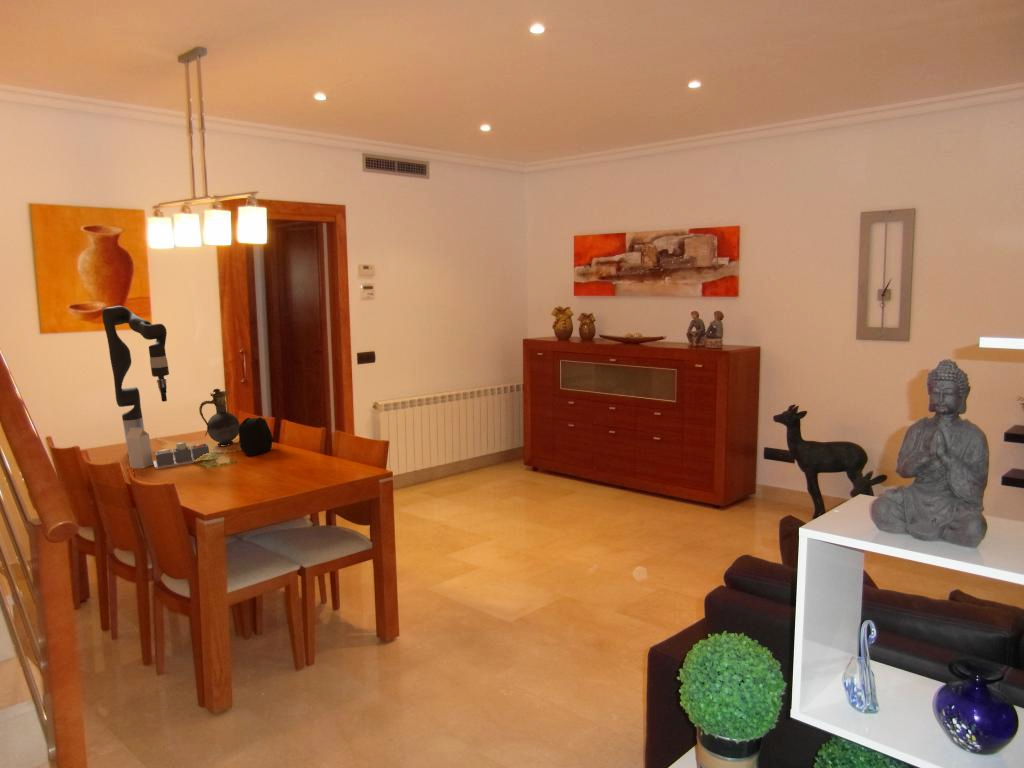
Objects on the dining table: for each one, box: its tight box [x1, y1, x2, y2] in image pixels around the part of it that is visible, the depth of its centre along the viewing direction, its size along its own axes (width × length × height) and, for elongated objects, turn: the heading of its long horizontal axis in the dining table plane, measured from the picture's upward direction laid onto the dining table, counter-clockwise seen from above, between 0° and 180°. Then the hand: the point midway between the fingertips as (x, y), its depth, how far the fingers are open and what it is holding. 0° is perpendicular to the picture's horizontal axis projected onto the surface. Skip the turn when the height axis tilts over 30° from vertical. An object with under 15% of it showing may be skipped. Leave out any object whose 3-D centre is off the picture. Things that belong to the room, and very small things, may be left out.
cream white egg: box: [158, 448, 170, 454], centre depth 366 cm, size 4×4×5 cm
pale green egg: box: [175, 442, 188, 451], centre depth 369 cm, size 4×4×5 cm
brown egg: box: [193, 442, 205, 448], centre depth 373 cm, size 4×4×5 cm
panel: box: [152, 443, 210, 470], centre depth 370 cm, size 14×26×6 cm, turn 119°
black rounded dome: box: [237, 416, 275, 456], centre depth 377 cm, size 18×18×17 cm
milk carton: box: [125, 428, 154, 469], centre depth 363 cm, size 7×7×19 cm
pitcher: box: [198, 388, 241, 447], centre depth 395 cm, size 11×19×30 cm, turn 136°
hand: (164, 401), depth 370 cm, fingers closed
